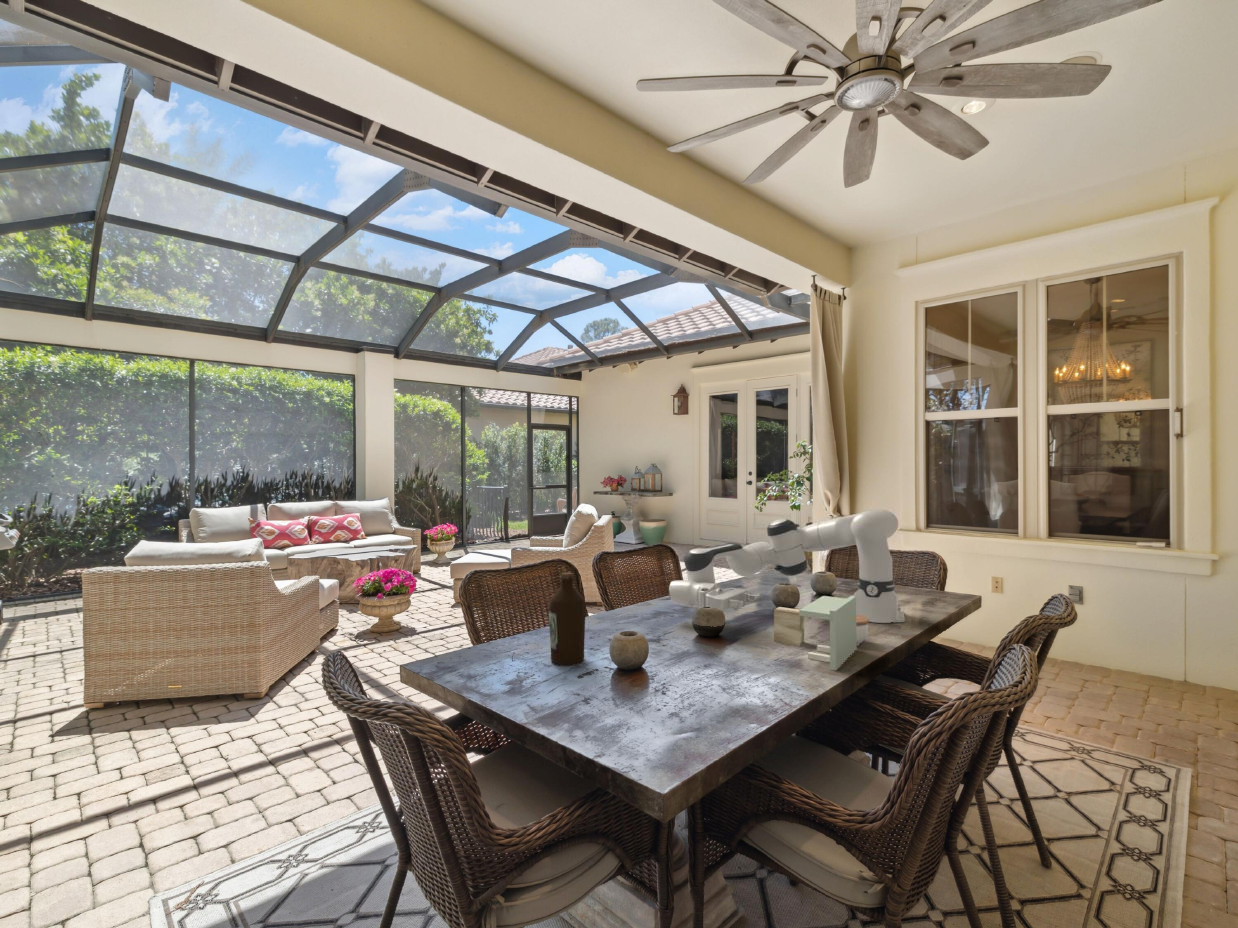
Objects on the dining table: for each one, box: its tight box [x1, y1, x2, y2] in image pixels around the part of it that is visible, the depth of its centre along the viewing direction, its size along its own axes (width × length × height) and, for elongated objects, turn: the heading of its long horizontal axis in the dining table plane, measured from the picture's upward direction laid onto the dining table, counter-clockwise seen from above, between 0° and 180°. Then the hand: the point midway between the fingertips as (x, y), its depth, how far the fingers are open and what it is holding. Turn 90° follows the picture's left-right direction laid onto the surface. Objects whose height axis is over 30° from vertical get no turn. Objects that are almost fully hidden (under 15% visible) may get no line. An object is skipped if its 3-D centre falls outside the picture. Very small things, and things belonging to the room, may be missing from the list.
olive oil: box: [548, 571, 587, 667], centre depth 170 cm, size 11×11×25 cm
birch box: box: [773, 606, 805, 647], centre depth 187 cm, size 4×8×10 cm, turn 55°
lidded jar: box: [856, 615, 870, 646], centre depth 185 cm, size 11×11×9 cm
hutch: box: [798, 595, 858, 671], centre depth 172 cm, size 22×10×16 cm, turn 145°
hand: (749, 601), depth 194 cm, fingers open, 8 cm apart
